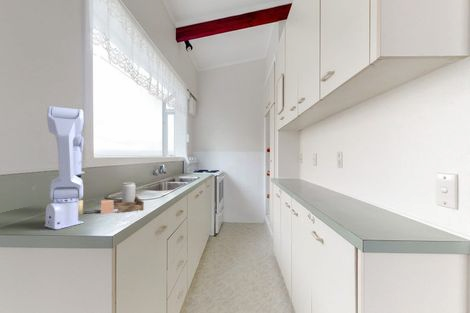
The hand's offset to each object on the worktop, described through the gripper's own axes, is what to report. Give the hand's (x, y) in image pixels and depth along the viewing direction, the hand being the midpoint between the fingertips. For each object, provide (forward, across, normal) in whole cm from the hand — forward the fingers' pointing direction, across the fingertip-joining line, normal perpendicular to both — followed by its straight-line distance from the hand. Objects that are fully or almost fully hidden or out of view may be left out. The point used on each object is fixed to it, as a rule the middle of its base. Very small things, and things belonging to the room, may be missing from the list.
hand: (73, 192), depth 101 cm
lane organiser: (+10, +3, -23) cm, 25 cm away
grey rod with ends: (+9, -2, -8) cm, 13 cm away
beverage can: (+10, +7, -24) cm, 27 cm away
